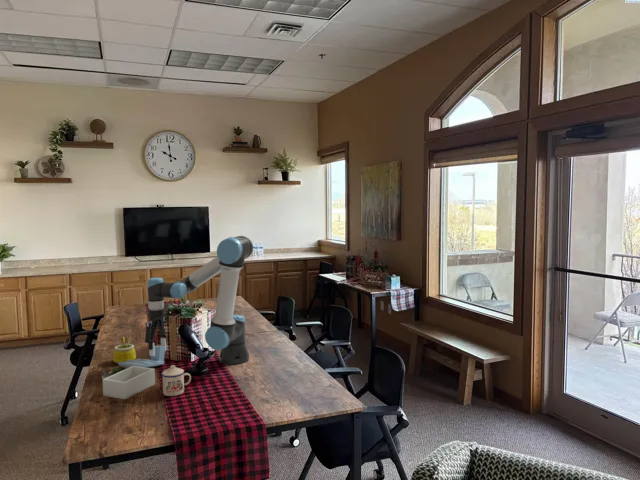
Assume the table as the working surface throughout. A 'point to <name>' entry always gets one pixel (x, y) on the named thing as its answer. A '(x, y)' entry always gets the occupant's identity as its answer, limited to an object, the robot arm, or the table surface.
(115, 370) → the salad plate
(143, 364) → the light blue l-shaped piece
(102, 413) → the table surface
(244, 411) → the table surface
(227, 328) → the robot arm
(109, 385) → the tub
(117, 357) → the mug
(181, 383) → the teacup with lid
